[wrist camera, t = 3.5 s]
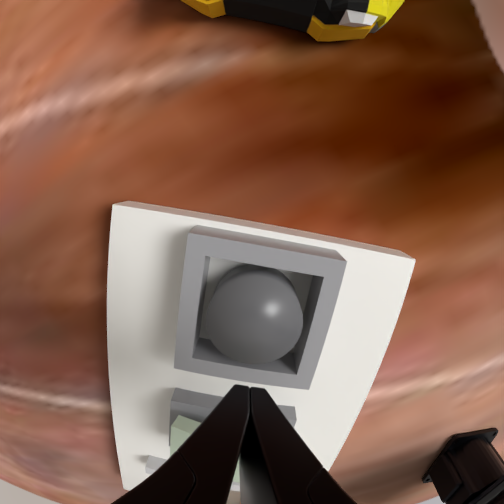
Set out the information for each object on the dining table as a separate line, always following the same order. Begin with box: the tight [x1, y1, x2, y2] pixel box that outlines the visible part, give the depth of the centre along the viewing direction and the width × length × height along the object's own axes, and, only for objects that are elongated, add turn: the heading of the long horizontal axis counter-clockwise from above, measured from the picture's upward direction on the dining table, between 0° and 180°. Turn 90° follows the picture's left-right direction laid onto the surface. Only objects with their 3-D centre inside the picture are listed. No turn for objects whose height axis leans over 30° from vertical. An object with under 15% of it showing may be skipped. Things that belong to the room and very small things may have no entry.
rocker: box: [170, 415, 240, 483], centre depth 14 cm, size 6×3×1 cm, turn 80°
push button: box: [206, 264, 303, 364], centre depth 14 cm, size 4×4×2 cm
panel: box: [107, 201, 416, 504], centre depth 17 cm, size 15×23×4 cm, turn 170°
